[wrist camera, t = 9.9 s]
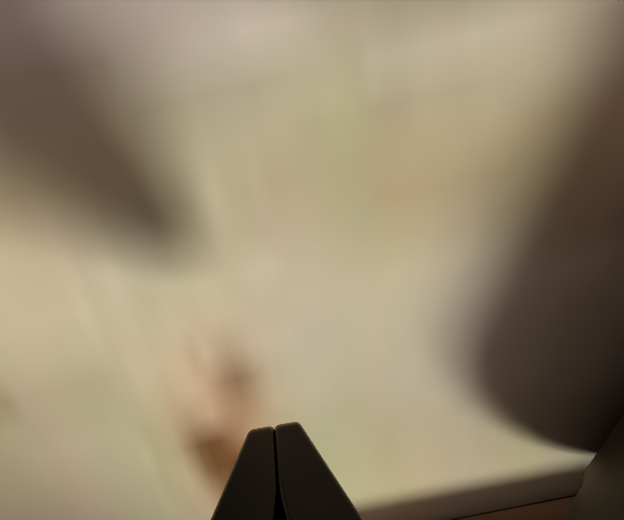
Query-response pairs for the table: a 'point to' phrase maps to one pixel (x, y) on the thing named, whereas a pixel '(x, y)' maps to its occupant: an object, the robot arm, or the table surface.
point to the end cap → (603, 482)
